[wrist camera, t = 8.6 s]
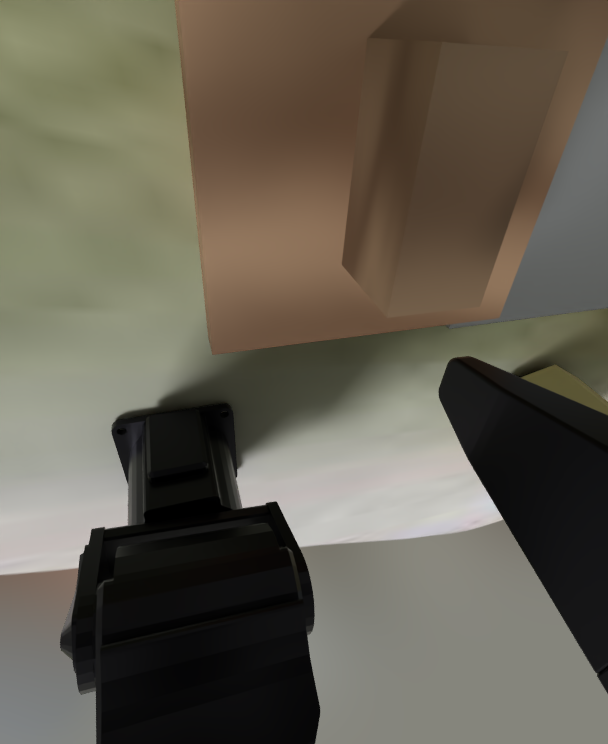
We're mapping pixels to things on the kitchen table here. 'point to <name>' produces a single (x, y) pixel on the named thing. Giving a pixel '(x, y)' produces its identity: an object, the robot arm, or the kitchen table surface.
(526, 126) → the walnut cover
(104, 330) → the kitchen table surface
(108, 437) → the kitchen table surface
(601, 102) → the charcoal mat
